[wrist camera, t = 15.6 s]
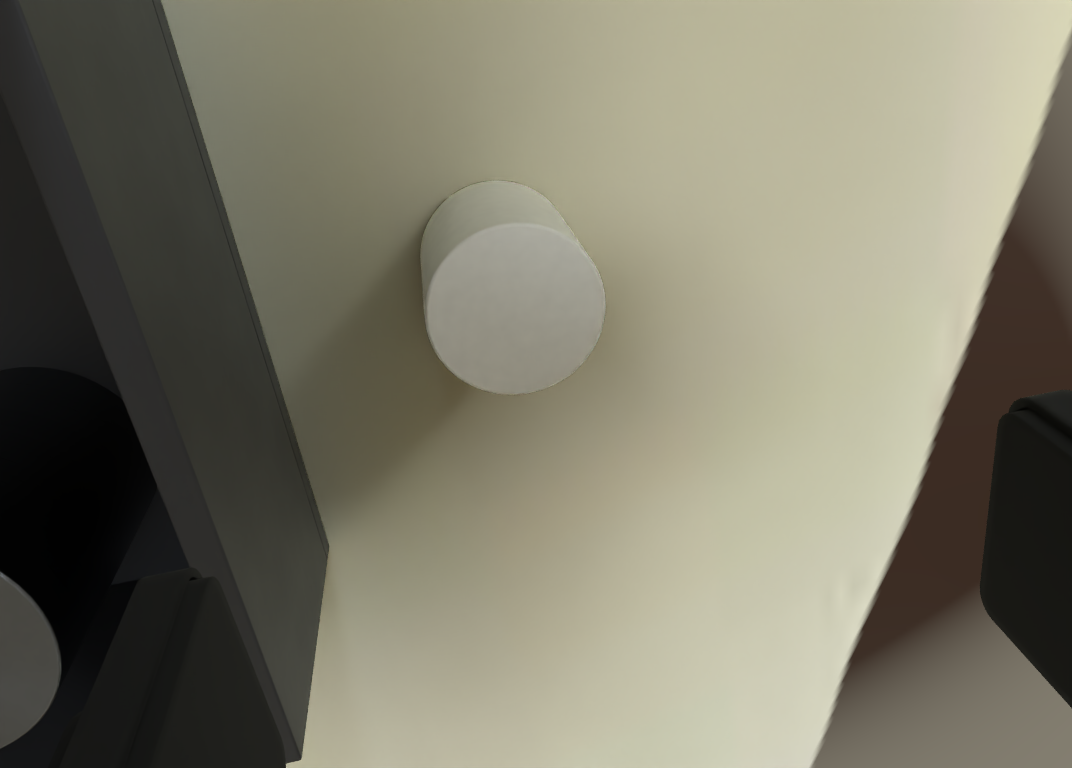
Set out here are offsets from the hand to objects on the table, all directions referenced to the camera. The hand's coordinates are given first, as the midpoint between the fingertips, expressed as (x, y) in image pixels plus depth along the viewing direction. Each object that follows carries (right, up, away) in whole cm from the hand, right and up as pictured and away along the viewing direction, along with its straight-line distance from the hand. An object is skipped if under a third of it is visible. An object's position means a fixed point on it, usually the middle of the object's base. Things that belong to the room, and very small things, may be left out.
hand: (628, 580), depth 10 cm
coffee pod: (-2, +6, +15) cm, 16 cm away
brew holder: (-15, 0, +16) cm, 22 cm away
